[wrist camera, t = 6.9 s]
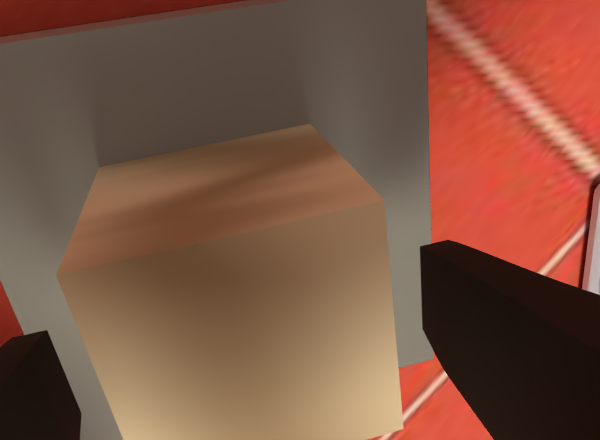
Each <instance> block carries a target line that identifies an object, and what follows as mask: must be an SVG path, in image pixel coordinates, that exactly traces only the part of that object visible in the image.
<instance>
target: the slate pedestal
mask: <svg viewBox="0 0 600 440" xmlns="http://www.w3.org/2000/svg"><path fill="white" fill-rule="evenodd" d="M306 124H311V125H312V126H313V127H314V128H315V129H316V130H317V131H318V132H319V133H320V134H321V135H322V136H323V137H324V138H325V139H326V141H327V142H328V143H329V144H330V145H331V146H332V147H333V148H334V149H335V150H336V151H337V152H338V153H339V154H340V155H341V156H342V157H343V158H344V159H345V160H346V161H347V162H348V163H349V164H350V165H351V166H352V167H353V168H354V169H355V170H356V171H357V172H358V173H359V174H360V175H361V176H362V177H363V178H364V180H365V181H366V182H367V183H368V184H369V185H370V186H371V187H372V188H373V189H374V190H375V191H376V192H377V193H378V194H379V195H380V196H381V197H382V198H383V199H384V204H385V216H386V227H387V239H388V251H389V263H390V275H391V287H392V298H393V310H394V322H395V334H396V346H397V357H398V368H401V367H405V366H409V365H413V364H417V363H421V362H424V361H428V360H432V359H434V351H433V349H432V347H431V345H430V343H429V341H428V339H427V337H426V335H425V333H424V331H423V329H422V300H421V270H420V246H423V245H428V244H431V208H430V161H429V113H428V66H427V18H426V0H244V1H238V2H231V3H224V4H217V5H211V6H204V7H197V8H190V9H184V10H177V11H170V12H163V13H157V14H150V15H143V16H136V17H130V18H123V19H116V20H109V21H103V22H96V23H89V24H83V25H76V26H69V27H62V28H56V29H49V30H42V31H35V32H29V33H22V34H15V35H8V36H2V37H0V281H1V283H2V285H3V288H4V290H5V292H6V295H7V297H8V299H9V301H10V304H11V306H12V308H13V311H14V313H15V315H16V317H17V320H18V322H19V324H20V326H21V329H22V331H23V333H24V335H27V334H31V333H35V332H40V331H44V330H47V331H48V333H49V336H50V338H51V341H52V343H53V345H54V348H55V350H56V353H57V355H58V357H59V360H60V362H61V365H62V367H63V370H64V372H65V374H66V377H67V379H68V382H69V384H70V387H71V389H72V391H73V394H74V396H75V399H76V401H77V403H78V406H79V408H80V411H81V413H82V415H81V430H80V440H123V437H122V435H121V433H120V430H119V428H118V425H117V423H116V420H115V418H114V415H113V413H112V411H111V408H110V406H109V403H108V401H107V398H106V396H105V394H104V391H103V389H102V386H101V384H100V381H99V379H98V377H97V374H96V372H95V369H94V367H93V364H92V362H91V360H90V357H89V355H88V352H87V350H86V347H85V345H84V343H83V340H82V338H81V335H80V333H79V330H78V328H77V326H76V323H75V321H74V318H73V316H72V313H71V311H70V308H69V306H68V304H67V301H66V299H65V296H64V294H63V291H62V289H61V287H60V284H59V282H58V279H57V277H56V274H57V272H58V269H59V267H60V264H61V262H62V259H63V257H64V254H65V251H66V249H67V246H68V244H69V241H70V239H71V236H72V234H73V231H74V229H75V226H76V224H77V221H78V219H79V216H80V214H81V211H82V209H83V206H84V204H85V201H86V199H87V196H88V194H89V191H90V189H91V186H92V183H93V181H94V178H95V176H96V173H97V171H98V168H99V167H103V166H107V165H112V164H117V163H122V162H127V161H132V160H136V159H141V158H146V157H151V156H156V155H161V154H165V153H170V152H175V151H180V150H185V149H190V148H194V147H199V146H204V145H209V144H214V143H219V142H223V141H228V140H233V139H238V138H243V137H248V136H252V135H257V134H262V133H267V132H272V131H277V130H281V129H286V128H291V127H296V126H301V125H306Z"/></svg>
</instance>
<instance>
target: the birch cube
mask: <svg viewBox="0 0 600 440" xmlns="http://www.w3.org/2000/svg"><path fill="white" fill-rule="evenodd" d="M56 277H57V279H58V282H59V284H60V287H61V289H62V291H63V294H64V296H65V299H66V301H67V304H68V306H69V308H70V311H71V313H72V316H73V318H74V321H75V323H76V326H77V328H78V330H79V333H80V335H81V338H82V340H83V343H84V345H85V347H86V350H87V352H88V355H89V357H90V360H91V362H92V364H93V367H94V369H95V372H96V374H97V377H98V379H99V381H100V384H101V386H102V389H103V391H104V394H105V396H106V398H107V401H108V403H109V406H110V408H111V411H112V413H113V415H114V418H115V420H116V423H117V425H118V428H119V430H120V433H121V435H122V437H123V440H367V439H370V438H374V437H377V436H381V435H384V434H387V433H391V432H394V431H398V430H401V429H404V428H403V417H402V405H401V393H400V381H399V369H398V357H397V346H396V334H395V322H394V310H393V298H392V287H391V275H390V263H389V251H388V239H387V227H386V216H385V204H384V199H383V198H382V197H381V196H380V195H379V194H378V193H377V192H376V191H375V190H374V189H373V188H372V187H371V186H370V185H369V184H368V183H367V182H366V181H365V180H364V178H363V177H362V176H361V175H360V174H359V173H358V172H357V171H356V170H355V169H354V168H353V167H352V166H351V165H350V164H349V163H348V162H347V161H346V160H345V159H344V158H343V157H342V156H341V155H340V154H339V153H338V152H337V151H336V150H335V149H334V148H333V147H332V146H331V145H330V144H329V143H328V142H327V141H326V139H325V138H324V137H323V136H322V135H321V134H320V133H319V132H318V131H317V130H316V129H315V128H314V127H313V126H312V125H311V124H306V125H301V126H296V127H291V128H286V129H281V130H277V131H272V132H267V133H262V134H257V135H252V136H248V137H243V138H238V139H233V140H228V141H223V142H219V143H214V144H209V145H204V146H199V147H194V148H190V149H185V150H180V151H175V152H170V153H165V154H161V155H156V156H151V157H146V158H141V159H136V160H132V161H127V162H122V163H117V164H112V165H107V166H103V167H99V168H98V171H97V173H96V176H95V178H94V181H93V183H92V186H91V189H90V191H89V194H88V196H87V199H86V201H85V204H84V206H83V209H82V211H81V214H80V216H79V219H78V221H77V224H76V226H75V229H74V231H73V234H72V236H71V239H70V241H69V244H68V246H67V249H66V251H65V254H64V257H63V259H62V262H61V264H60V267H59V269H58V272H57V274H56Z"/></svg>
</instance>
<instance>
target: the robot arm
mask: <svg viewBox="0 0 600 440" xmlns="http://www.w3.org/2000/svg"><path fill="white" fill-rule="evenodd" d="M420 270H421V300H422V329H423V331H424V333H425V335H426V337H427V339H428V341H429V343H430V345H431V347H432V349H433V351H434V352H435V354H436V356H437V358H438V360H439V362H440V363H441V365H442V367H443V369H444V371H445V372H446V373H447V375H448V376H449V378H450V379H451V381H452V382H453V383H454V385H455V386H456V388H457V389H458V390H459V392H460V393H461V395H462V396H463V397H464V399H465V400H466V402H467V403H468V404H469V406H470V407H471V409H472V410H473V411H474V413H475V414H476V415H477V417H478V418H479V420H480V421H481V422H482V424H483V425H484V426H485V428H486V429H487V431H488V432H489V433H490V435H491V436H492V437H493V439H494V440H600V184H599V185H598V186H597V187H596V189H595V192H594V197H593V205H592V213H591V221H590V229H589V237H588V245H587V253H586V261H585V269H584V277H583V285H582V289H580V288H577V287H574V286H571V285H568V284H565V283H563V282H560V281H557V280H554V279H552V278H549V277H546V276H543V275H541V274H538V273H535V272H533V271H530V270H528V269H525V268H522V267H520V266H517V265H515V264H512V263H510V262H507V261H504V260H502V259H499V258H497V257H494V256H492V255H489V254H487V253H484V252H482V251H479V250H477V249H474V248H471V247H469V246H466V245H463V244H460V243H457V242H454V241H450V240H446V241H441V242H437V243H432V244H428V245H423V246H420ZM81 415H82V413H81V411H80V408H79V406H78V403H77V401H76V399H75V396H74V394H73V391H72V389H71V387H70V384H69V382H68V379H67V377H66V374H65V372H64V370H63V367H62V365H61V362H60V360H59V357H58V355H57V353H56V350H55V348H54V345H53V343H52V341H51V338H50V336H49V333H48V331H47V330H44V331H40V332H35V333H31V334H27V335H22V336H18V337H13V338H11V339H10V340H9V341H8V342H6V343H5V344H4V345H3V346H2V347H0V440H80V430H81Z"/></svg>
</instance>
